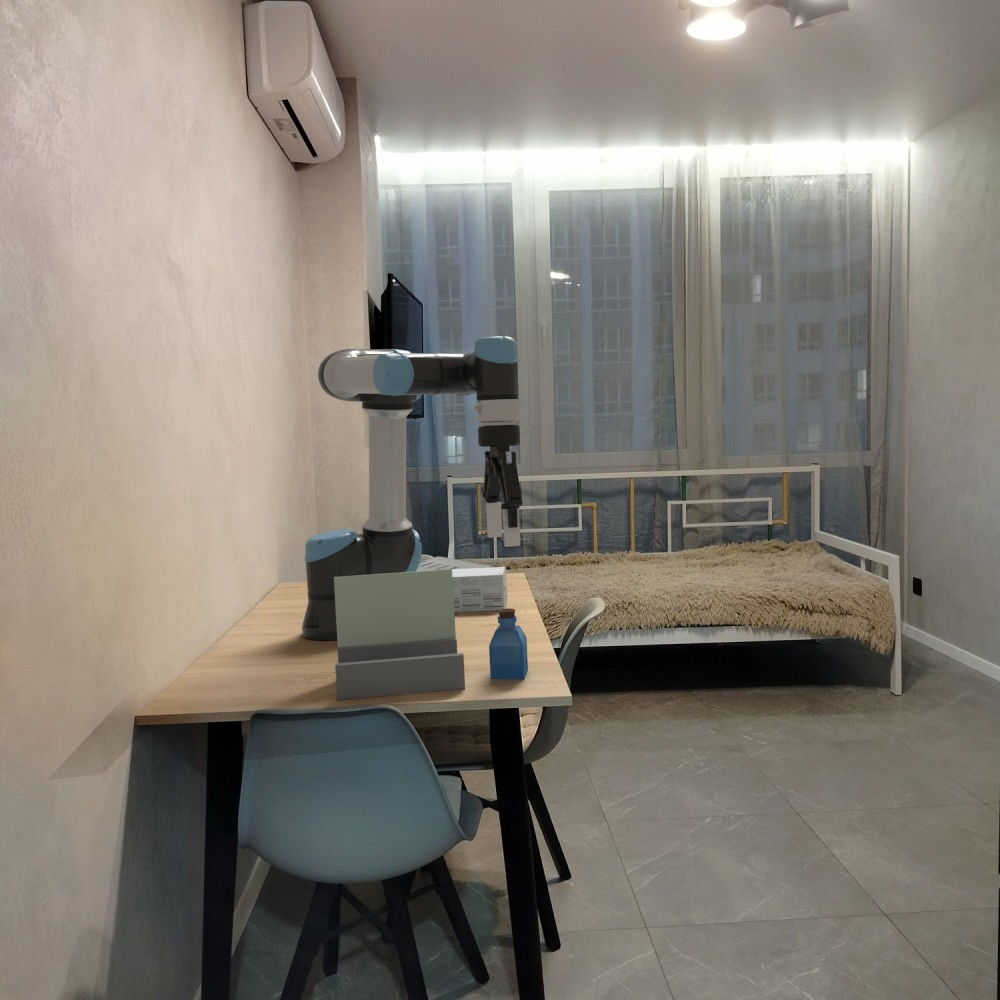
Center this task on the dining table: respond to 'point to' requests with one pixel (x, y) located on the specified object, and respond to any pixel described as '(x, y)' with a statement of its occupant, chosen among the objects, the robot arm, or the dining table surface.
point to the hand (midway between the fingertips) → (503, 541)
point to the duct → (399, 669)
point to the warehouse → (447, 564)
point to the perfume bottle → (508, 648)
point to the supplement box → (479, 589)
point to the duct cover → (394, 607)
